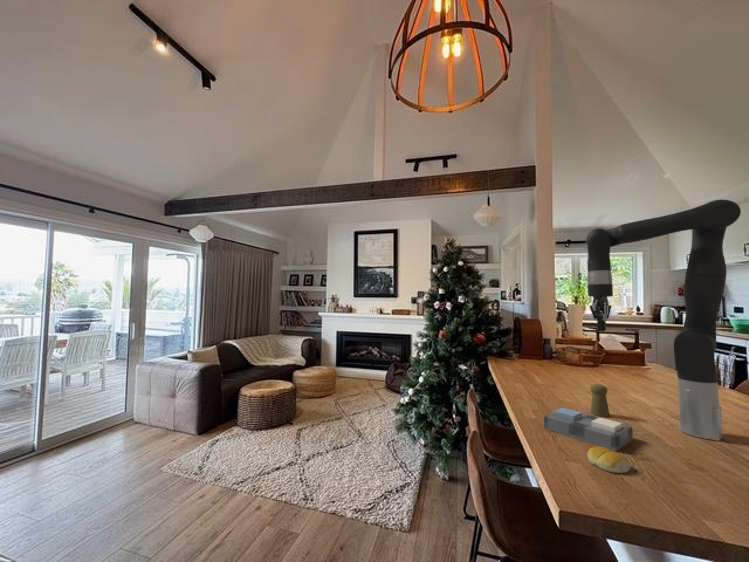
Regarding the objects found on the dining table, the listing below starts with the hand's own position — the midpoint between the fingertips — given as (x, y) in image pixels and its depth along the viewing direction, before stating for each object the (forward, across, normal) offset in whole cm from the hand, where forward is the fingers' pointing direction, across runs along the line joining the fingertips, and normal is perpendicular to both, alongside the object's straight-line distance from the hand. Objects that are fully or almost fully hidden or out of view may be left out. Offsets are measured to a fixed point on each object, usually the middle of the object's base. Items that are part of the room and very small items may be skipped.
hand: (601, 330), depth 116 cm
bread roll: (+32, -35, -13) cm, 50 cm away
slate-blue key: (+29, -18, +5) cm, 35 cm away
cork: (+32, +6, +4) cm, 33 cm away
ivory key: (+29, -18, -7) cm, 35 cm away
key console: (+32, -18, -1) cm, 37 cm away
